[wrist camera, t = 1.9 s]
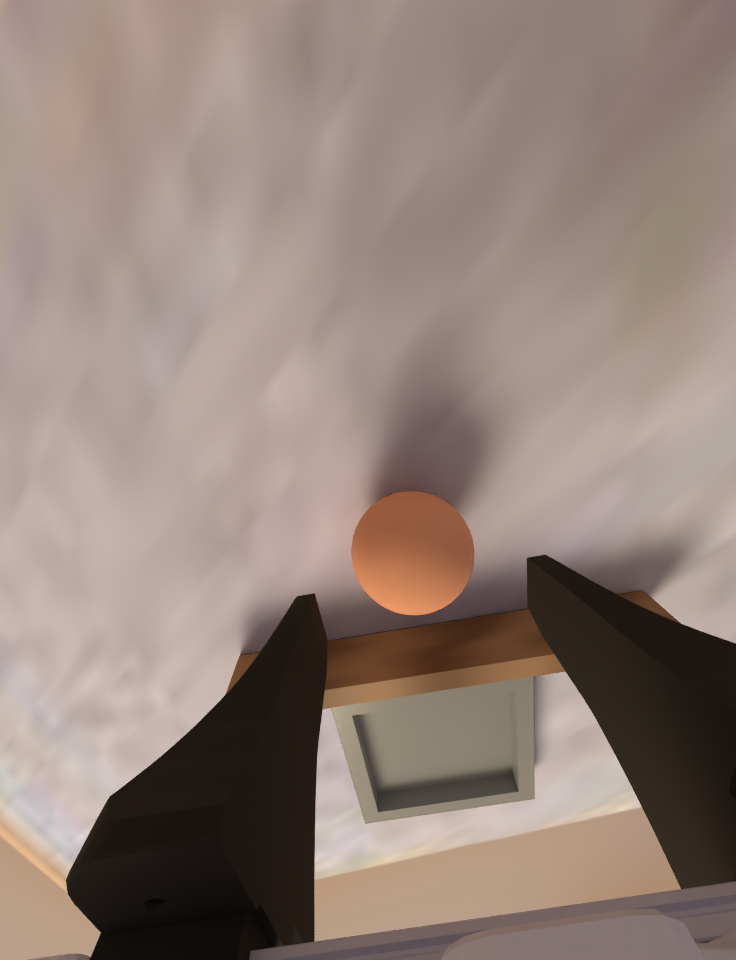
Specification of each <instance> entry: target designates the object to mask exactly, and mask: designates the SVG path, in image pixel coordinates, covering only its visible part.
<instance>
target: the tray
mask: <svg viewBox="0 0 736 960" xmlns="http://www.w3.org/2000/svg"><path fill="white" fill-rule="evenodd" d="M331 710H332V713H333V716H334V720H335V723H336V726H337V730H338V733H339V737H340V740H341V743H342V747H343V750H344V753H345V757H346V760H347V763H348V767H349V770H350V774H351V777H352V780H353V784H354V787H355V790H356V794H357V797H358V801H359V804H360V807H361V811H362V814H363V817H364V821H365V824H367V823H373V822H380V821H387V820H394V819H401V818H408V817H414V816H421V815H428V814H435V813H442V812H449V811H456V810H462V809H469V808H476V807H483V806H490V805H497V804H503V803H510V802H517V801H524V800H531V799H535V793H534V683H533V676H532V677H526V678H519V679H513V680H507V681H500V682H494V683H487V684H481V685H474V686H468V687H462V688H455V689H449V690H442V691H436V692H429V693H423V694H417V695H410V696H404V697H397V698H391V699H385V700H378V701H372V702H365V703H359V704H352V705H346V706H340V707H333V708H331Z"/></svg>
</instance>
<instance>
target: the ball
mask: <svg viewBox="0 0 736 960" xmlns="http://www.w3.org/2000/svg"><path fill="white" fill-rule="evenodd" d="M352 562H353V567H354V571H355V574H356V576H357V579H358V581H359V583H360V584H361V586H362V587H363V589H364V590H365V592H366V593H367V594H368V595H369V596H370V597H371V598H372V599H373V600H374V601H376V602H377V603H378V604H380V605H381V606H383V607H385V608H387V609H389V610H391V611H393V612H396V613H400V614H405V615H424V614H428V613H432V612H435V611H437V610H440V609H442V608H444V607H445V606H447V605H449V604H450V603H451V602H453V601H454V600H455V599H456V598H457V597H458V596H459V595H460V593H461V592H462V591H463V589H464V588H465V586H466V585H467V583H468V581H469V579H470V576H471V572H472V569H473V564H474V545H473V540H472V536H471V533H470V530H469V528H468V526H467V524H466V522H465V521H464V519H463V518H462V516H461V515H460V514H459V513H458V512H457V510H456V509H455V508H454V507H452V506H451V505H450V504H449V503H447V502H446V501H444V500H443V499H441V498H439V497H437V496H434V495H432V494H429V493H425V492H419V491H404V492H398V493H394V494H391V495H389V496H386V497H384V498H382V499H381V500H379V501H378V502H376V503H375V504H374V505H372V506H371V507H370V508H369V509H368V510H367V512H366V513H365V514H364V515H363V516H362V518H361V519H360V521H359V523H358V525H357V527H356V530H355V533H354V536H353V541H352Z"/></svg>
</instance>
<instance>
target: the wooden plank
mask: <svg viewBox="0 0 736 960" xmlns="http://www.w3.org/2000/svg"><path fill="white" fill-rule="evenodd" d="M618 595H619V596H621V597H623V598H625V599H627V600H629V601H631V602H633V603H635V604H637V605H639V606H641V607H643V608H646V609H648V610H650V611H652V612H654V613H657V614H659V615H661V616H664V617H666V618H669V619H671V620H673V621H676V622H678V621H677V620H676V619H675V618H674V617H673V616H672V615H670V614H669V613H668V612H667V611H666V610H665V609H664V608H662V607H661V606H660V605H659V604H658V603H657V602H656V601H654V600H653V599H652V598H651V597H650V596H649V595H648V594H646V593H645V592H644V591H636V592H630V593H624V594H618ZM678 623H680V622H678ZM680 624H681V623H680ZM259 653H260V652H258V653H252V654H245V655H240V656H239V659H238V662H237V665H236V667H235V670H234V673H233V676H232V678H231V681H230V684H229V687H228V690H227V692H226V694H227V693H228V692H229V690H230V689H231V688H232V687H233V686H234V685H235V684H236V682H237V681H238V680H239V679H240V678H241V676H242V675H243V674H244V673H245V671H246V670H247V669H248V668H249V666H250V665H251V664H252V662H253V661H254V660H255V658H256V657H257V656H258V654H259ZM564 671H565V670H564V668H563V667H562V665H561V664H560V662H559V661H558V659H557V658H556V656H555V655H554V653H553V652H552V650H551V649H550V647H549V645H548V644H547V642H546V641H545V639H544V638H543V636H542V635H541V633H540V631H539V629H538V627H537V625H536V623H535V621H534V619H533V617H532V615H531V613H530V611H529V609H525V610H519V611H512V612H506V613H500V614H494V615H487V616H481V617H475V618H469V619H463V620H456V621H450V622H444V623H438V624H432V625H425V626H419V627H413V628H407V629H401V630H394V631H388V632H382V633H376V634H369V635H363V636H357V637H351V638H345V639H338V640H332V641H327V676H326V684H325V692H324V700H323V708H322V709H327V708H333V707H340V706H346V705H352V704H359V703H365V702H372V701H378V700H385V699H391V698H397V697H404V696H410V695H417V694H423V693H429V692H436V691H442V690H449V689H455V688H462V687H468V686H474V685H481V684H487V683H494V682H500V681H507V680H513V679H519V678H526V677H532V676H539V675H545V674H551V673H558V672H564Z"/></svg>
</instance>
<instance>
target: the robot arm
mask: <svg viewBox="0 0 736 960" xmlns="http://www.w3.org/2000/svg"><path fill="white" fill-rule="evenodd" d="M527 594H528V609H529V611H530V613H531V615H532V617H533V619H534V621H535V623H536V625H537V627H538V629H539V631H540V633H541V635H542V636H543V638H544V639H545V641H546V642H547V644H548V645H549V647H550V649H551V650H552V652H553V653H554V655H555V656H556V658H557V659H558V661H559V662H560V664H561V665H562V667H563V668H564V670H565V671H566V673H567V674H568V676H569V677H570V679H571V680H572V682H573V683H574V685H575V686H576V688H577V689H578V691H579V692H580V694H581V695H582V697H583V698H584V700H585V701H586V703H587V705H588V706H589V708H590V709H591V711H592V713H593V714H594V716H595V718H596V720H597V722H598V723H599V725H600V727H601V729H602V731H603V733H604V734H605V736H606V738H607V740H608V742H609V744H610V746H611V747H612V749H613V751H614V753H615V755H616V757H617V759H618V761H619V763H620V765H621V767H622V768H623V770H624V772H625V774H626V776H627V778H628V780H629V782H630V784H631V786H632V788H633V790H634V792H635V794H636V796H637V798H638V800H639V802H640V804H641V806H642V808H643V810H644V812H645V814H646V816H647V818H648V820H649V822H650V824H651V826H652V828H653V830H654V832H655V834H656V836H657V838H658V840H659V842H660V845H661V847H662V849H663V851H664V853H665V855H666V858H667V860H668V862H669V864H670V866H671V868H672V870H673V872H674V875H675V876H676V879H677V881H678V883H679V885H680V887H681V889H680V890H673V891H667V892H659V893H652V894H646V895H638V896H631V897H624V898H617V899H610V900H603V901H596V902H589V903H582V904H575V905H568V906H561V907H554V908H547V909H540V910H533V911H526V912H519V913H512V914H505V915H498V916H491V917H485V918H477V919H470V920H463V921H456V922H449V923H442V924H435V925H428V926H421V927H414V928H407V929H400V930H393V931H386V932H379V933H372V934H365V935H358V936H351V937H344V938H338V939H330V940H323V941H316V942H314V853H315V800H316V770H317V751H318V740H319V732H320V724H321V716H322V708H323V700H324V692H325V684H326V676H327V636H326V633H325V629H324V626H323V622H322V618H321V615H320V611H319V608H318V604H317V600H316V597H315V593H314V594H309V595H303V596H297V597H296V598H295V600H294V601H293V603H292V604H291V606H290V608H289V609H288V611H287V613H286V614H285V616H284V617H283V619H282V620H281V622H280V624H279V625H278V627H277V628H276V630H275V631H274V633H273V634H272V636H271V637H270V639H269V640H268V642H267V643H266V645H265V646H264V647H263V649H262V650H261V652H260V653H259V654H258V656H257V657H256V658H255V660H254V661H253V662H252V664H251V665H250V666H249V668H248V669H247V670H246V671H245V673H244V674H243V675H242V676H241V678H240V679H239V680H238V681H237V682H236V684H235V685H234V686H233V687H232V688H231V689H230V690H229V692H228V693H227V694H226V695H225V696H224V697H223V698H222V699H221V700H220V701H219V702H218V703H217V704H216V705H215V706H214V707H213V709H212V710H211V711H210V712H209V713H208V714H207V715H206V716H205V717H204V718H203V719H202V720H201V721H200V722H199V723H198V724H197V725H196V726H195V727H193V728H192V729H191V730H190V731H189V732H188V733H187V734H186V735H185V736H184V737H183V738H182V739H180V740H179V741H178V742H177V743H176V744H175V745H174V746H173V747H171V748H170V749H169V750H168V751H167V752H166V753H164V754H163V755H162V756H161V757H160V758H159V759H157V760H156V761H155V762H154V763H153V764H151V765H150V766H149V767H148V768H146V769H145V770H144V771H142V772H141V773H140V774H139V775H137V776H136V777H135V778H133V779H132V780H131V781H130V782H128V783H127V784H126V785H125V786H123V787H122V788H121V789H119V790H118V791H117V792H115V793H114V794H113V795H111V796H110V797H109V799H108V800H107V802H106V804H105V806H104V807H103V809H102V811H101V813H100V815H99V816H98V818H97V820H96V822H95V824H94V826H93V828H92V830H91V831H90V833H89V835H88V837H87V839H86V841H85V843H84V845H83V847H82V849H81V851H80V852H79V854H78V856H77V858H76V860H75V862H74V864H73V866H72V868H71V870H70V872H69V874H68V877H67V879H66V884H67V891H68V895H69V896H70V898H71V900H72V901H73V902H74V904H75V905H76V906H77V907H78V908H79V909H80V910H81V911H82V913H83V914H84V915H85V916H86V917H87V918H88V919H89V920H90V921H91V922H92V923H93V924H94V925H95V927H96V928H97V929H98V930H99V931H100V932H101V934H100V937H99V939H98V942H97V944H96V946H95V949H94V951H93V954H92V956H91V957H89V956H87V955H83V954H65V955H58V956H51V957H45V958H37V959H30V960H736V644H735V643H732V642H729V641H727V640H724V639H721V638H718V637H715V636H712V635H710V634H707V633H704V632H701V631H698V630H696V629H693V628H691V627H688V626H685V625H683V624H680V623H678V622H676V621H673V620H671V619H669V618H666V617H664V616H661V615H659V614H657V613H654V612H652V611H650V610H648V609H646V608H643V607H641V606H639V605H637V604H635V603H633V602H631V601H629V600H627V599H625V598H623V597H621V596H619V595H617V594H615V593H613V592H611V591H609V590H607V589H606V588H604V587H602V586H600V585H598V584H596V583H595V582H593V581H591V580H589V579H587V578H586V577H584V576H582V575H580V574H579V573H577V572H575V571H573V570H572V569H570V568H568V567H566V566H565V565H563V564H561V563H559V562H558V561H556V560H554V559H552V558H550V557H548V556H547V555H542V556H536V557H530V558H527Z"/></svg>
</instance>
